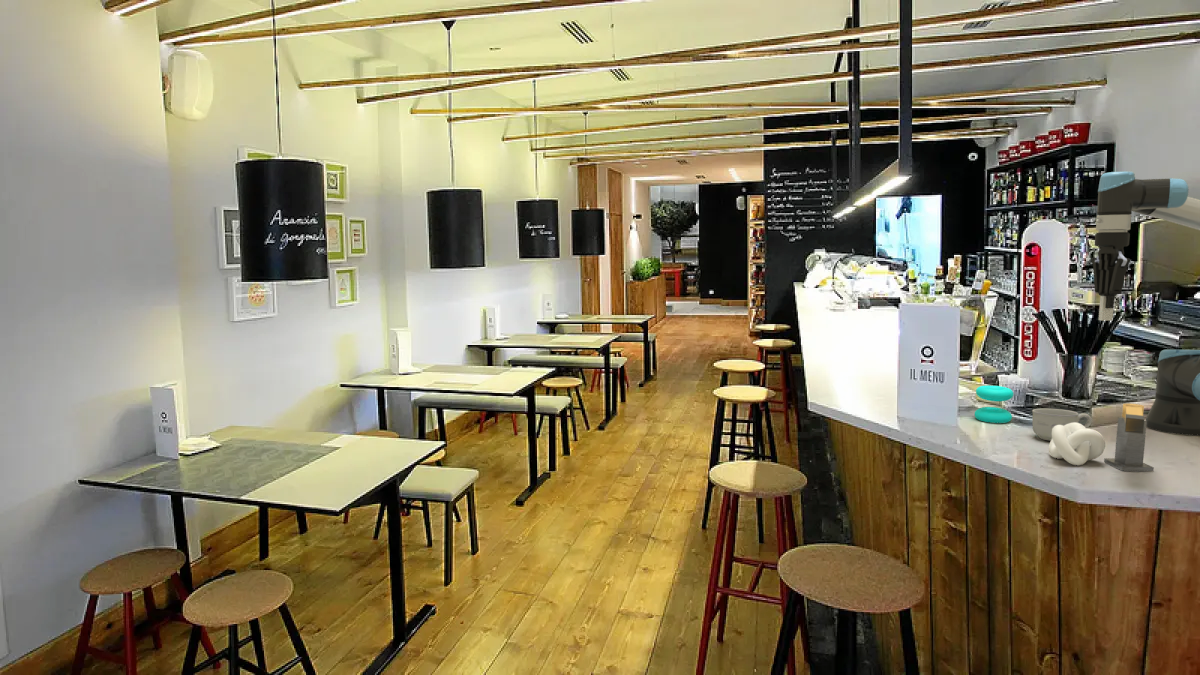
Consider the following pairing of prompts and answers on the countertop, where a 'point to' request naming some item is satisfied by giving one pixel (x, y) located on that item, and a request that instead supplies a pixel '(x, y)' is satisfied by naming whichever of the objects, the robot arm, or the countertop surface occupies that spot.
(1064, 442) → the white knot
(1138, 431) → the bar
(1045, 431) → the teacup
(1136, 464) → the post
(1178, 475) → the countertop surface
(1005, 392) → the donuts
